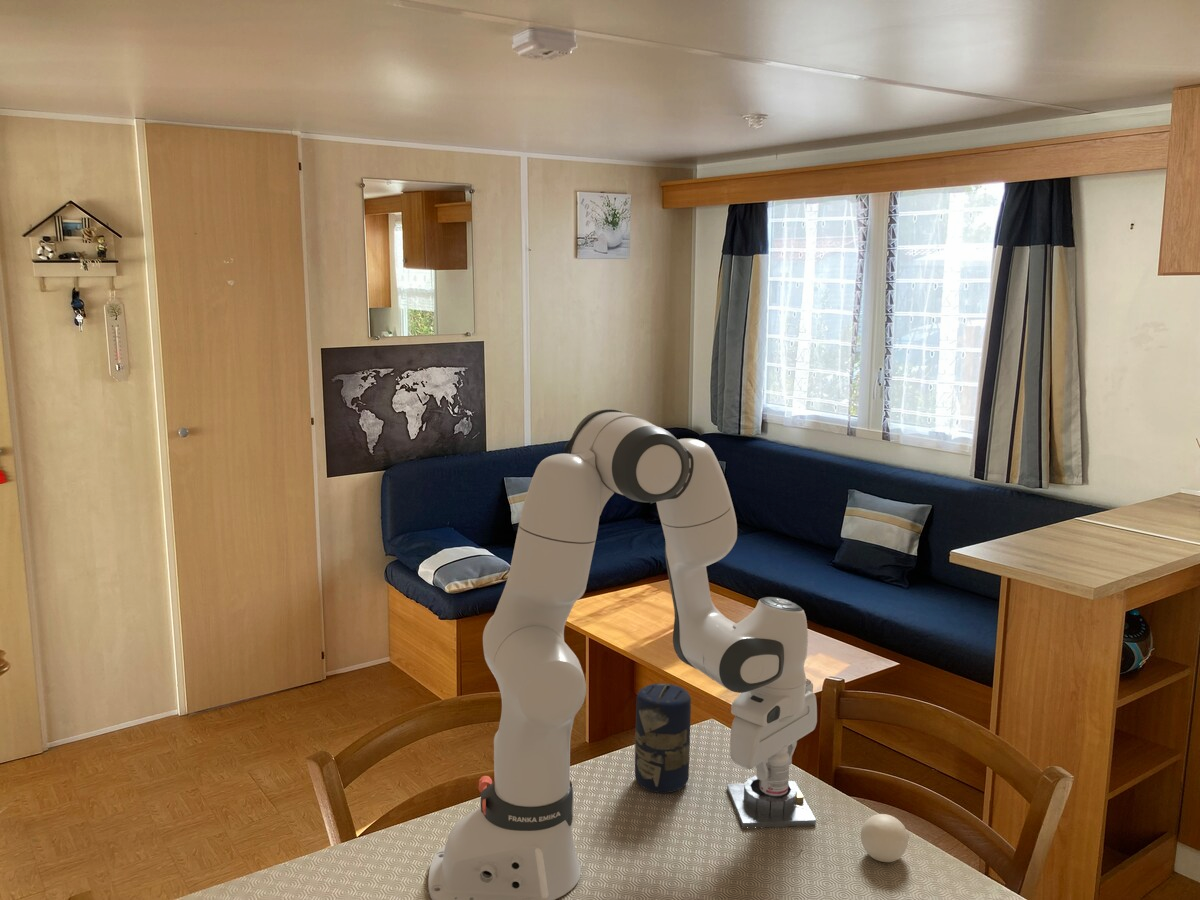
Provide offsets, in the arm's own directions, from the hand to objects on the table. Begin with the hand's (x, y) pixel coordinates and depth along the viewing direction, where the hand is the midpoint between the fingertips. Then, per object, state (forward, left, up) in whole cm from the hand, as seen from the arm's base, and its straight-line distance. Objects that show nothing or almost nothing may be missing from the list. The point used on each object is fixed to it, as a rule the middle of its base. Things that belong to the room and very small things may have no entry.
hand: (774, 771), depth 160 cm
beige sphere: (+14, -14, -7) cm, 21 cm away
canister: (-17, +10, -7) cm, 21 cm away
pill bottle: (0, 0, -3) cm, 3 cm away
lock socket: (0, +1, -7) cm, 7 cm away
